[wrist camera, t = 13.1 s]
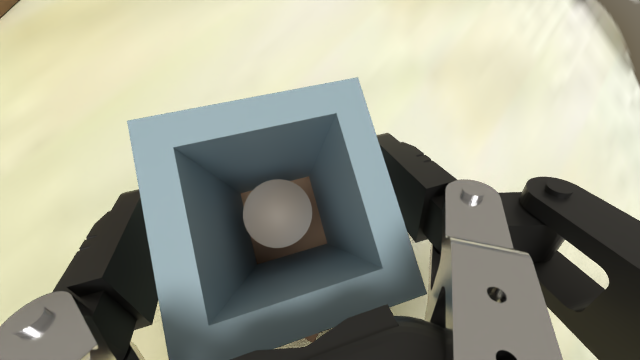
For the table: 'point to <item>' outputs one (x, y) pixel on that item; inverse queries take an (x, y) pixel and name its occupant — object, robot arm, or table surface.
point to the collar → (235, 242)
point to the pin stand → (282, 220)
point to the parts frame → (6, 5)
